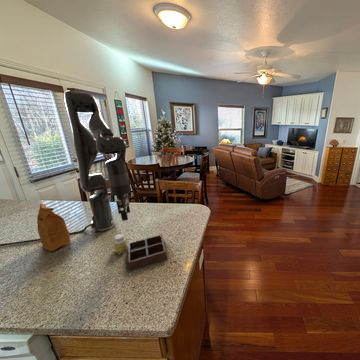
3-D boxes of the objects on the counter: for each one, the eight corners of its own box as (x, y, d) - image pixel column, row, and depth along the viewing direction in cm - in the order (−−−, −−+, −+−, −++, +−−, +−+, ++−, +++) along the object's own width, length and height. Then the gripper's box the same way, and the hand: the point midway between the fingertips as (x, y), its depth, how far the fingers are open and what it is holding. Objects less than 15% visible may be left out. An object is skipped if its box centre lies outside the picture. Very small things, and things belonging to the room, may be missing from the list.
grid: (129, 270, 81) (127, 263, 80) (129, 249, 94) (128, 242, 93) (167, 258, 88) (166, 251, 87) (162, 240, 101) (161, 234, 100)
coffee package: (64, 235, 105) (53, 199, 98) (74, 243, 98) (62, 205, 92) (40, 245, 96) (25, 206, 90) (48, 253, 90) (33, 213, 84)
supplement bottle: (119, 248, 95) (116, 233, 92) (129, 247, 95) (126, 233, 93) (114, 254, 90) (111, 239, 88) (124, 254, 91) (121, 239, 88)
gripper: (112, 180, 87) (119, 211, 92) (105, 188, 75) (114, 224, 79) (130, 178, 90) (136, 209, 95) (127, 186, 78) (134, 221, 82)
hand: (126, 216), depth 87 cm, fingers open, 8 cm apart
